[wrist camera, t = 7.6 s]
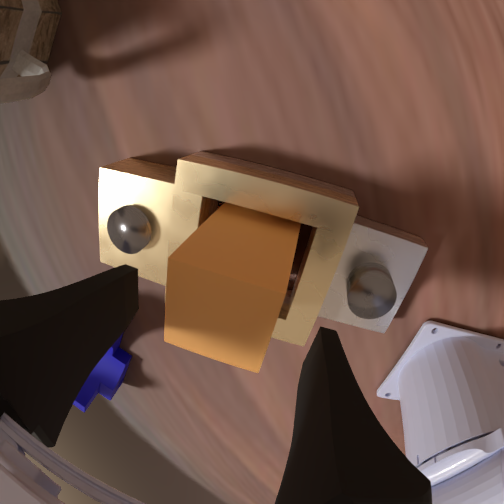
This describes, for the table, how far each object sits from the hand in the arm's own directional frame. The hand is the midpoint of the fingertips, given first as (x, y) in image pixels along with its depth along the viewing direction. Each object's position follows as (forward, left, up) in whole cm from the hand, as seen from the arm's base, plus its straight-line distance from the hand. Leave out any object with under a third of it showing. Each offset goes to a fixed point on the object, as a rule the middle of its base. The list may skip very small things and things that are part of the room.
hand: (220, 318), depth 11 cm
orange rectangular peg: (0, 0, -8) cm, 8 cm away
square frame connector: (0, 0, -8) cm, 8 cm away
